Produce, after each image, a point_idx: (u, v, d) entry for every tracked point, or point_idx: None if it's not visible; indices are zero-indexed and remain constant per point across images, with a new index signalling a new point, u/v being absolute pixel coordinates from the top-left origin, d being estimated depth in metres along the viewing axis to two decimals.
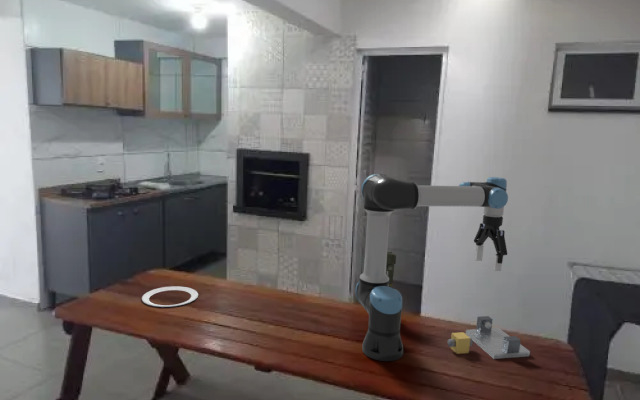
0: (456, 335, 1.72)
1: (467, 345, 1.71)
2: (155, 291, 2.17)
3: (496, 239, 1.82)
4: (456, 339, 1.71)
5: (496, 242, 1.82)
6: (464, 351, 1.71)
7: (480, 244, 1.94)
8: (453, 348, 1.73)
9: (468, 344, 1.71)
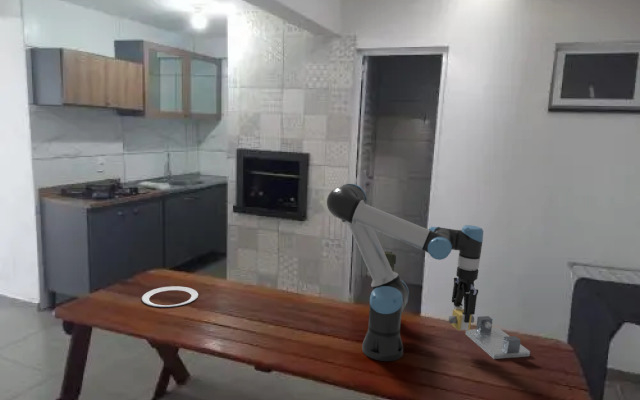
0: (457, 311, 1.71)
1: (469, 322, 1.69)
2: (155, 291, 2.17)
3: (468, 296, 1.67)
4: (457, 315, 1.69)
5: (466, 299, 1.67)
6: None
7: (458, 305, 1.74)
8: (454, 325, 1.71)
9: (469, 321, 1.69)
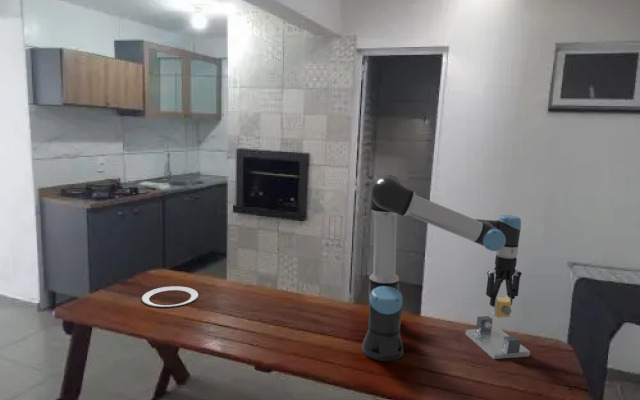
0: (500, 298, 1.77)
1: (497, 309, 1.74)
2: (155, 291, 2.17)
3: (496, 281, 1.74)
4: None
5: (494, 284, 1.75)
6: None
7: (509, 296, 1.76)
8: None
9: (498, 308, 1.74)
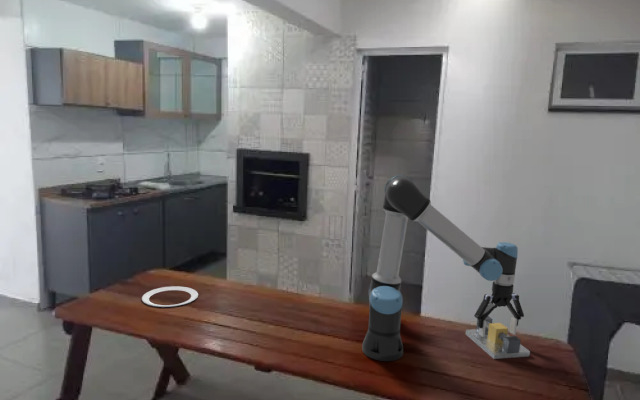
0: (497, 324, 1.79)
1: (494, 335, 1.76)
2: (155, 291, 2.17)
3: (490, 305, 1.75)
4: None
5: (487, 307, 1.76)
6: (492, 339, 1.77)
7: (515, 317, 1.78)
8: None
9: (495, 334, 1.75)
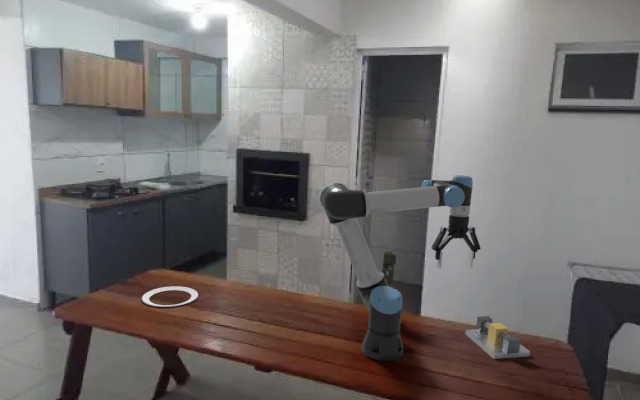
0: (497, 324, 1.79)
1: (494, 335, 1.76)
2: (155, 291, 2.17)
3: (446, 237, 1.79)
4: None
5: (444, 239, 1.79)
6: (492, 339, 1.77)
7: (472, 250, 1.82)
8: None
9: (495, 334, 1.75)
